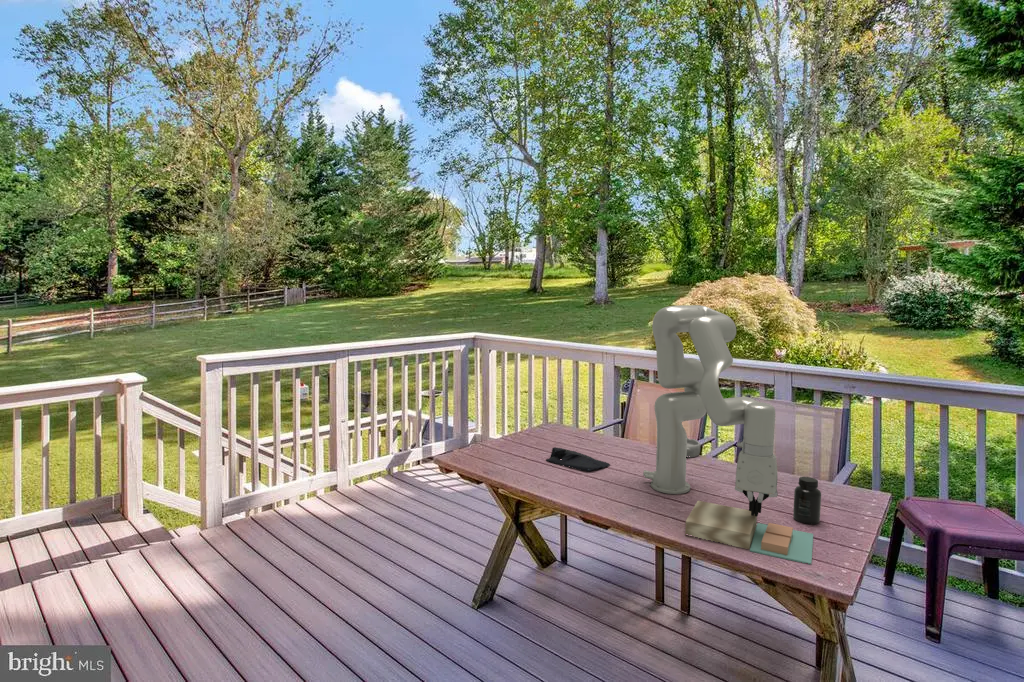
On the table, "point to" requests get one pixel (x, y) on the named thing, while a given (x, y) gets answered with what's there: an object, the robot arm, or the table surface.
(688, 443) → the dish
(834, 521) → the table surface
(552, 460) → the black folded cloth
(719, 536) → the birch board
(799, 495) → the supplement bottle
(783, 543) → the tile
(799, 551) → the rubber mat
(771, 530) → the tile
